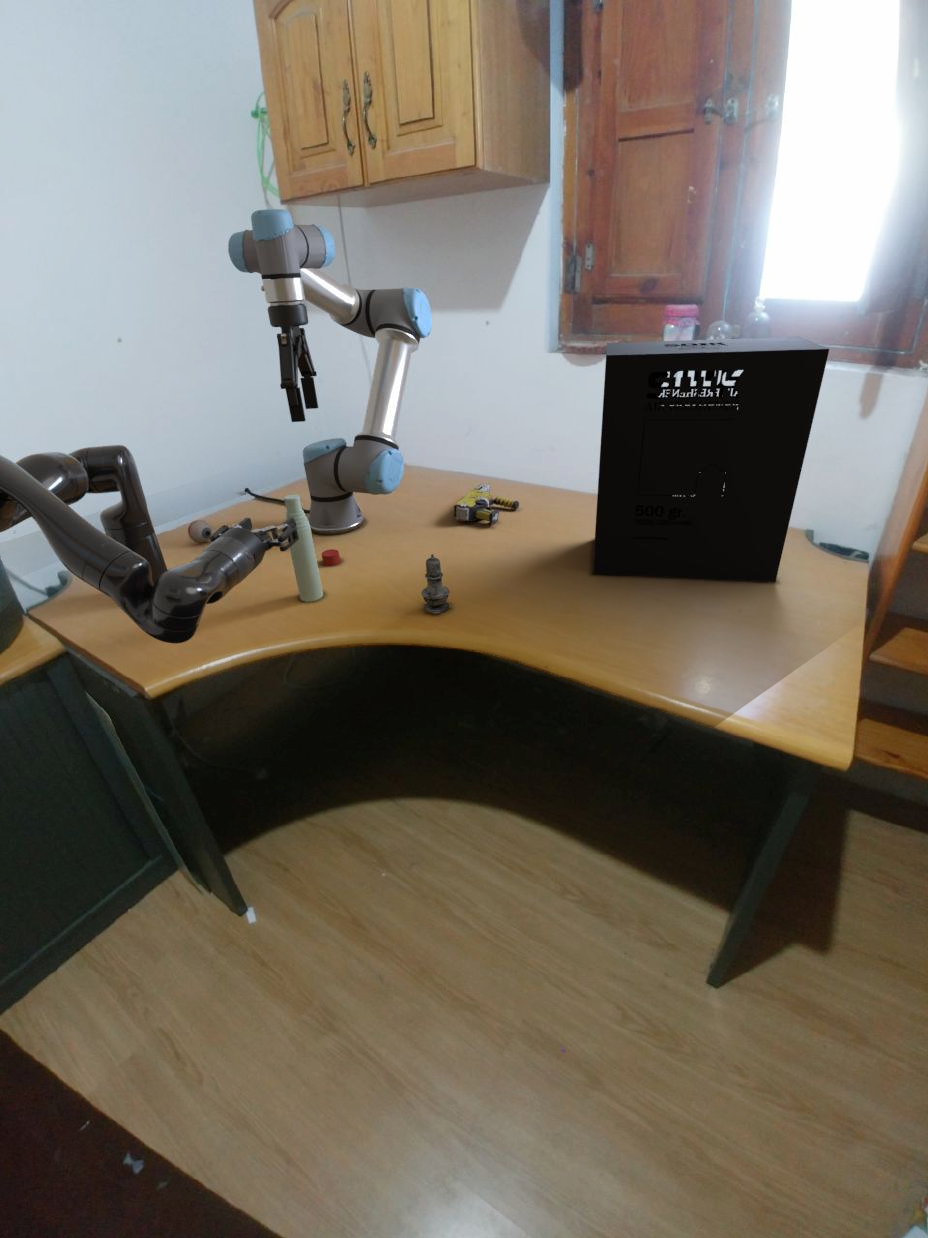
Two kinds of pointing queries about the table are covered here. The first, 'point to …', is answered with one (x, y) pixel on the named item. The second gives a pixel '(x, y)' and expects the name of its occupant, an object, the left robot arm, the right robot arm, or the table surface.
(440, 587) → the grey tiered upright piece
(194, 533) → the eyeball
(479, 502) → the toy gun
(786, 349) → the cardboard box
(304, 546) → the bottle
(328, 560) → the cap
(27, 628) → the table surface
